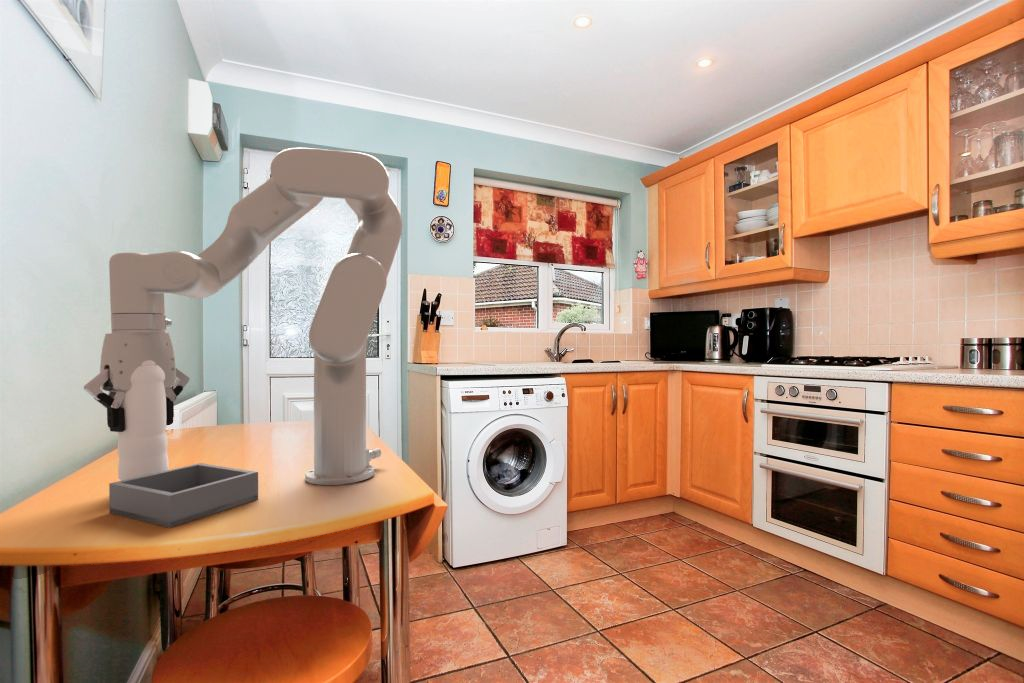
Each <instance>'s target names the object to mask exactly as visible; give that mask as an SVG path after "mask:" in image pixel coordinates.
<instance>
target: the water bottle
mask: <svg viewBox="0 0 1024 683" xmlns="http://www.w3.org/2000/svg"><path fill="white" fill-rule="evenodd" d="M164 380H165V373H164V371H163V370H162V369H161V368H160V367H159V366H158V365H156V364H155V362H154V361H152V360H147V361H144V362H143V363H142V366H139V367H138V368H137V369H136V370H135V371H134V372H133V373H132V375H131V383H132V386H131V389H130V390H129V391H127V392H126V393H125V397H124V399H123V401H122V403H121V408H124V413H125V430H124V431H123V432H117V435H118V440H117V456H118V467H117V470H118V471H117V476H118V479H119V481H123V480H127V479H132V478H136V477H140V476H145V475H149V474H154V473H158V472H163V471H167V470H170V468H169V466H170V465H169V458H168V452H167V451H168V448H169V447H168V445H169V444H168V443H169V442H168V435H167V433H166V432H167V424H166V419H167V416H166V394H165V386H164Z"/></svg>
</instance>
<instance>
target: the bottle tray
mask: <svg viewBox="0 0 1024 683" xmlns="http://www.w3.org/2000/svg"><path fill="white" fill-rule="evenodd" d="M108 483H109V482H108ZM108 486H109V490H108V492H109V495H108V497H109V501H108V502H109V507H108V508H109V511H108V512H109V514H113V515H116V516H120V517H126V518H128V519H132V520H133V519H134V520H137V521H142V522H145V523H150V524H152V525H157V526H161V527H165V528H168V529H170V528H174V527H178V526H179V525H183V524H187V523H189V522H192V521H195V520H198V519H202V518H205V517H208V516H212V515H215V514H216V513H220V512H223V511H227V510H229V509H233V508H236V507H238V506H242V505H244V504H249V503H251V502H253V501H257V500H259V471H255V470H248V469H241V468H234V467H227V466H221V465H213V464H208V463H202V462H199V463H195V464H191V465H187V466H181V467H177V468H176V467H175V468H172V469H169V470H167V471H163V472H158V473H154V474H149V475H145V476H140V477H136V478H132V479H127V480H123V481H122V480H119V481H115V482H110V483H109V485H108Z"/></svg>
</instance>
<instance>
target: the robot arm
mask: <svg viewBox="0 0 1024 683" xmlns="http://www.w3.org/2000/svg"><path fill="white" fill-rule="evenodd" d="M269 167H270V168H269V169H270V170H269V171H270V178H267V180H266V181H264V182H263V183H262V184H261V185H259V186H258V187H256V188H255V189H254V190H253V191H251V192H250V193H248V194H246V196H244V197H243V198H242V199H241V200H239V201H237V202H236V203H234V204H233V206H232V207H231V209H230V211H229V214H228V217H227V221H226V225H225V227H224V229H223V230H222V232H221V234H220V235H219V236H218V238H216V239H215V241H213V243H211V244H210V245H209V246H208V247H206V248H205V249H204V250H203V251H201V252H200V253H199V254H198V255H195V254H193V253H191V252H188V251H182V250H181V251H180V250H175V251H166V252H165V251H164V252H156V253H143V252H142V253H141V252H118V253H114V254H113V255H111V257H110V258H109V262H108V263H109V264H108V269H109V270H108V271H109V274H108V275H109V298H110V299H109V300H110V323H111V324H110V325H111V326H110V327H111V328H110V330H111V333H105V335H104V338H103V343H102V348H101V354H100V363H99V364H100V366H99V373H98V374H97V375H96V376H94V377H93V379H91V380H89V381H88V382H87V383H86V384H85V385H84V386H83V390H84V391H86V392H87V394H89V395H90V396H91V397H93V399H94V400H95V401H96V402H98V403H99V404H101V405H102V406H103V407H104V408H105V409H106V416H107V417H106V420H107V421H106V422H107V423H106V424H107V427H108V428H109V431H110V432H113V433H114V432H115V433H118V432H123V431H124V430H125V413H124V408H121V403H122V401H123V399H124V397H125V393H126V392H127V391H129V390H130V389H131V386H132V383H131V375H132V373H133V372H134V371H135V370H136V369H137V368H138V367H139V366H142V363H143V362H144V361H147V360H152V361H154V362H155V364H156V365H158V366H159V367H160V368H161V369H162V370H163V371H164V373H165V380H164V386H165V394H166V416H167V419H166V425H172V424H173V423H174V417H175V412H174V410H175V409H174V408H175V407H174V405H175V404H174V402H175V401H177V399H178V396H179V395H180V394H181V393H183V390H184V388H185V386H187V384H188V383H189V382H190V380H191V379H190V377H189V376H188V375H186V374H185V373H183V372H182V371H181V370H179V369H178V368H177V366H176V359H175V358H176V357H175V351H174V347H173V343H172V339H171V336H170V333H169V332H166V330H167V327H172V325H173V321H172V320H171V319H169V318H166V317H167V316H166V312H165V311H166V310H165V294H173V295H174V294H175V295H178V296H184V297H189V298H191V299H196V300H197V299H205V298H209V297H211V296H213V295H215V294H217V293H218V292H219V291H220V290H222V289H223V288H224V287H226V286H227V285H228V284H229V283H232V281H233V280H235V279H236V278H237V277H238V276H240V275H241V274H242V273H243V272H244V271H246V270H247V268H249V266H250V265H251V264H252V263H253V262H254V261H255V260H256V259H257V258H258V257H259V256H260V255H261V254H262V253H263V252H264V250H265V249H266V248H267V246H268V245H269V244H270V243H271V242H273V241H274V240H275V239H276V238H278V237H279V236H280V235H281V234H283V233H284V232H285V231H287V230H288V229H289V228H290V227H292V226H293V225H294V224H295V223H296V222H298V221H299V220H300V219H302V218H303V217H305V215H307V214H308V213H309V212H310V211H312V210H314V208H316V207H317V206H318V205H319V204H320V203H321V202H322V201H323V199H324V198H328V199H340V200H341V199H342V200H343V199H344V200H345V202H346V204H347V205H348V206H349V208H350V209H351V210H352V211H353V212H354V213H355V215H356V217H357V227H356V229H355V232H354V234H353V237H352V240H351V243H350V246H349V249H348V251H347V254H346V255H345V256H344V257H342V258H341V259H339V261H338V262H336V263H335V265H334V266H333V269H332V271H331V273H330V274H329V277H328V280H327V282H326V286H325V288H324V290H323V291H322V295H321V297H320V300H319V303H318V306H317V308H316V311H315V314H314V316H313V318H312V320H311V324H310V327H309V330H308V341H309V344H310V348H311V350H312V351H313V353H314V354H313V356H314V359H313V362H314V363H313V465H314V466H313V468H312V469H309V470H307V471H306V472H305V474H304V476H305V477H304V479H305V481H306V482H307V483H308V484H313V485H319V486H339V485H340V486H341V485H347V484H348V485H349V484H355V483H358V482H362V481H365V480H368V479H370V478H372V477H374V475H375V467H374V466H373V465H370V462H371V461H372V460H374V459H375V460H376V459H378V458H380V457H381V456H382V451H381V449H380V448H379V447H377V448H373V449H370V448H367V406H366V405H367V339H368V336H369V333H370V332H371V328H372V326H373V323H374V320H375V317H376V315H377V312H378V310H379V307H380V305H381V302H382V299H383V296H384V294H385V291H386V288H387V282H388V280H387V279H388V276H389V273H390V270H391V268H392V264H393V262H394V259H395V256H396V253H397V250H398V247H399V245H400V244H399V243H400V240H401V236H402V232H403V222H402V220H403V219H402V215H401V213H400V212H401V211H400V209H399V207H398V205H397V203H396V201H395V200H394V199H393V197H392V196H391V194H390V192H389V186H390V177H389V172H388V170H387V169H386V167H385V165H384V164H383V163H382V162H381V161H380V160H379V159H378V158H377V157H375V156H373V155H370V154H367V153H363V152H358V151H348V150H346V151H345V150H336V149H335V150H334V149H326V148H324V149H323V148H314V147H313V148H312V147H311V148H310V147H291V148H287V149H283V150H282V151H280V152H278V153H277V154H276V155H275V156H274V157H273V159H272V160H271V164H270V166H269ZM104 391H105V392H104ZM106 392H108V393H106Z"/></svg>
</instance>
